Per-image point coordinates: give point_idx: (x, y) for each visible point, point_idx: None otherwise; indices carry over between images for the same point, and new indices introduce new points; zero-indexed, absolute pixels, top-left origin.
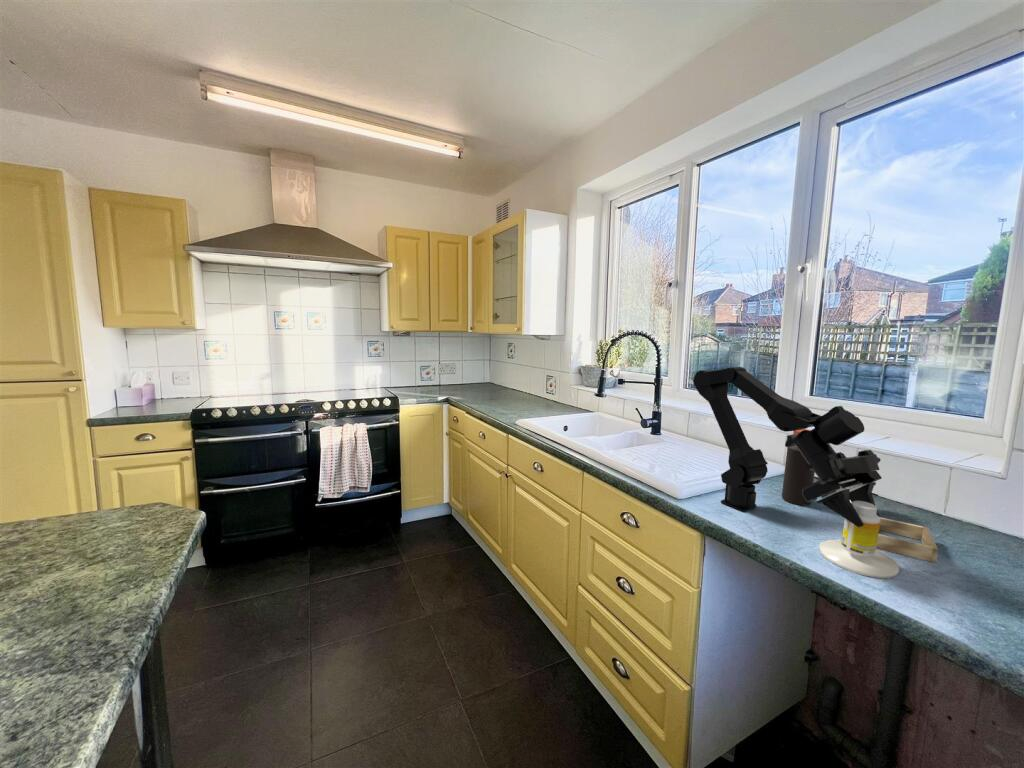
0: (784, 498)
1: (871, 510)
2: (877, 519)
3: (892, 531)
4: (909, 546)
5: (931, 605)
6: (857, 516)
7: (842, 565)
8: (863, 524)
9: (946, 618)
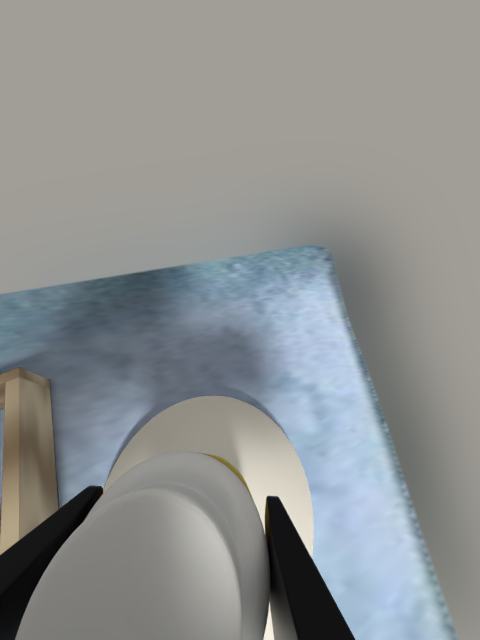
0: None
1: (200, 504)
2: (183, 459)
3: None
4: (29, 429)
5: (269, 322)
6: (302, 553)
7: (309, 496)
8: (268, 497)
9: (287, 301)
